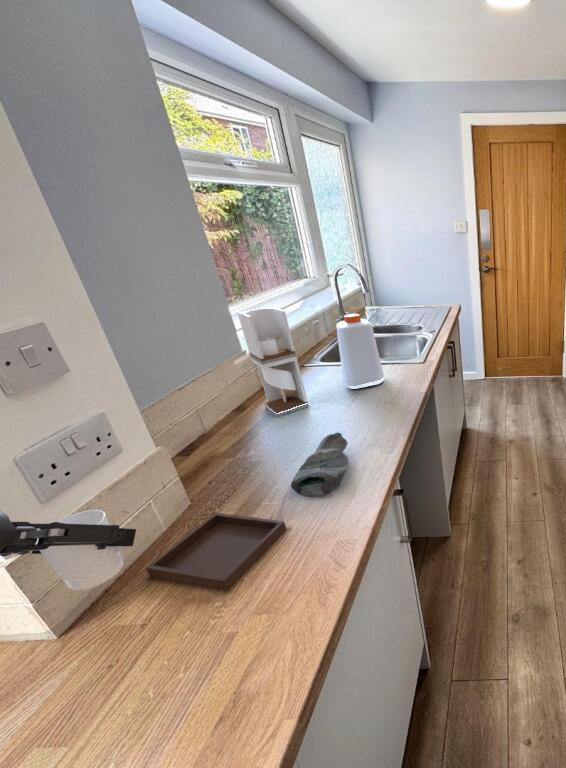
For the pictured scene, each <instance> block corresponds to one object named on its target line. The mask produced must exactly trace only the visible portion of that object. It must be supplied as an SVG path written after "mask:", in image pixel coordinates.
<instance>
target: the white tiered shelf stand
mask: <svg viewBox="0 0 566 768" xmlns="http://www.w3.org/2000/svg"><path fill="white" fill-rule="evenodd" d="M237 315H238V319H239V322H240V326H241V329H242V332H243V336H244V339H245V343H246V347H247V350H248V353H249V357H250V359H251V362H252V363H253V364H255V365H256V366H257V370H258V374H259V377H260V380H261V383H262V387H263V390H264V394H265V398H266V400H267V401H265V402H264V406H265V405H267V406H268V407H269V408H270V409H272V410H273V411H274V412H276V413H279V412H281V411H285V410H288V409H291V408H293V407H296V406H299V405H302V404H305V403H308V404H306V405H303V406H300V407H297V408H295V409H292V410H289V411H286V412H283V413H280V414H276V413H274V412H273V411H272V410H270V409H269V408H268V407H267V406H265V409H267V410H268V411H269V412H271V413H272V414H273V415H274V416H276V417H277V418H279V417H282V416H285V415H288V414H291V413H294V412H297V411H299V410H303V409H305V408H308V407H309V401H308V398H307V394H306V393H307V392H306V389H305V386H304V382H303V378H302V374H301V370H300V366H299V365H300V364H299V361H298V358H297V354H296V349H295V345H294V341H293V337H292V333H291V330H290V326H289V320H288V318H287V313H286V310H284V309H282V308H278V307H275V306H267V307H261V308H255V309H249V310H241V311H237Z"/></svg>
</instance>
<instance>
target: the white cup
mask: <svg viewBox="0 0 566 768" xmlns="http://www.w3.org/2000/svg"><path fill="white" fill-rule="evenodd" d="M55 522H58V523H67V524H90V525H111V524H110V522H109V519H108V516H107V515H106V513H105V511H103V510H100V509H89V510H83V511H80V512H76V513H73V514H69V515H67V516H65V517H62V518H60V519H58V520H56V521H55ZM38 539H39V538H38ZM38 539H37V542H36V543H35V545H37V543H38ZM97 548H98V546H95V545H73V546H49V547H48V548H47V549H44V550H39V551H40V552H41V553H42V554H41V555H42V556H43V557H44V559H45V561H47V563H48V564H49V565H50V567H51V568H52V569H53V570H54V571H55V573H56V574H57V576H58V577H59V578H60V579H62V581H63V582H64V584H65V585H66V587H67V588H68V589H70V590H72V591H75V592H77V591H85V590H89V589H92V588H95V587H98V586H100V585H102V584H103V583H106V582H108V581H109V580H111V579H112V578H113V577H114V576H116V575H118V573H119V572H120V571H121V570H122V569H123V567H124V566H125V560H124V559H125V558H124V556H123V554H122V552H121V548H120V546H106V548H105V549H101V550H97Z"/></svg>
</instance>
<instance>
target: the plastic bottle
mask: <svg viewBox="0 0 566 768" xmlns="http://www.w3.org/2000/svg"><path fill="white" fill-rule="evenodd" d="M335 326H336V336H337V344H338V350H339V359H340V367H341V375H342V381H343V380H344V381H343V383H344V382H345V383H344V385H345V386H346V385H347V386H357V385H361V384H365V383H369V382H374V381H377V380H380V379H382V378H383V377H384V378H385V374H384V370H383V365H382V362H381V357H380V354H379V353H380V352H379V350H378V349H379V348H378V345H377V342H376V337H375V333H374V329H373V324H372V323H371V322H370V321H369V320H368V319H365V318H361V315H360V314H359V313H349V314H346V315H344V316H343V320H342V321H339V322H337V323H336V325H335Z"/></svg>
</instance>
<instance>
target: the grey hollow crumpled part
mask: <svg viewBox="0 0 566 768" xmlns="http://www.w3.org/2000/svg"><path fill="white" fill-rule="evenodd" d="M347 446H348V441H347V440H346V438H345V437H343V435H342V433H340V432H335V433H330V434H328V435H326V436H324V437H323V438H322V439H321V441H320V442H319V444H318V446H317V448H316V449H315V451H314V452H313V453H312V454H310V455H309V456H308V457H307V458H306V460H304V462H303V464H302V465H301V466H300V467H299V469H298V470H297V472H296V473H295V475H294V477H293V479H292V481H291V483H290V487H291V490H293V491H294V492H295V493H296V494H298V495H301V496H302V497H307V498H308V497H309V498H313V497H314V498H315V497H324V496H327V495H330V494H331V493H333V492H334V491H336V490H337V489H338V488H339V486H340V485H341V483H342V481H343V479H344V476H345V474H346V472H347V470H348V468H349V457H348V456H347V454H346V453H344V451H345V450H346V448H347Z"/></svg>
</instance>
